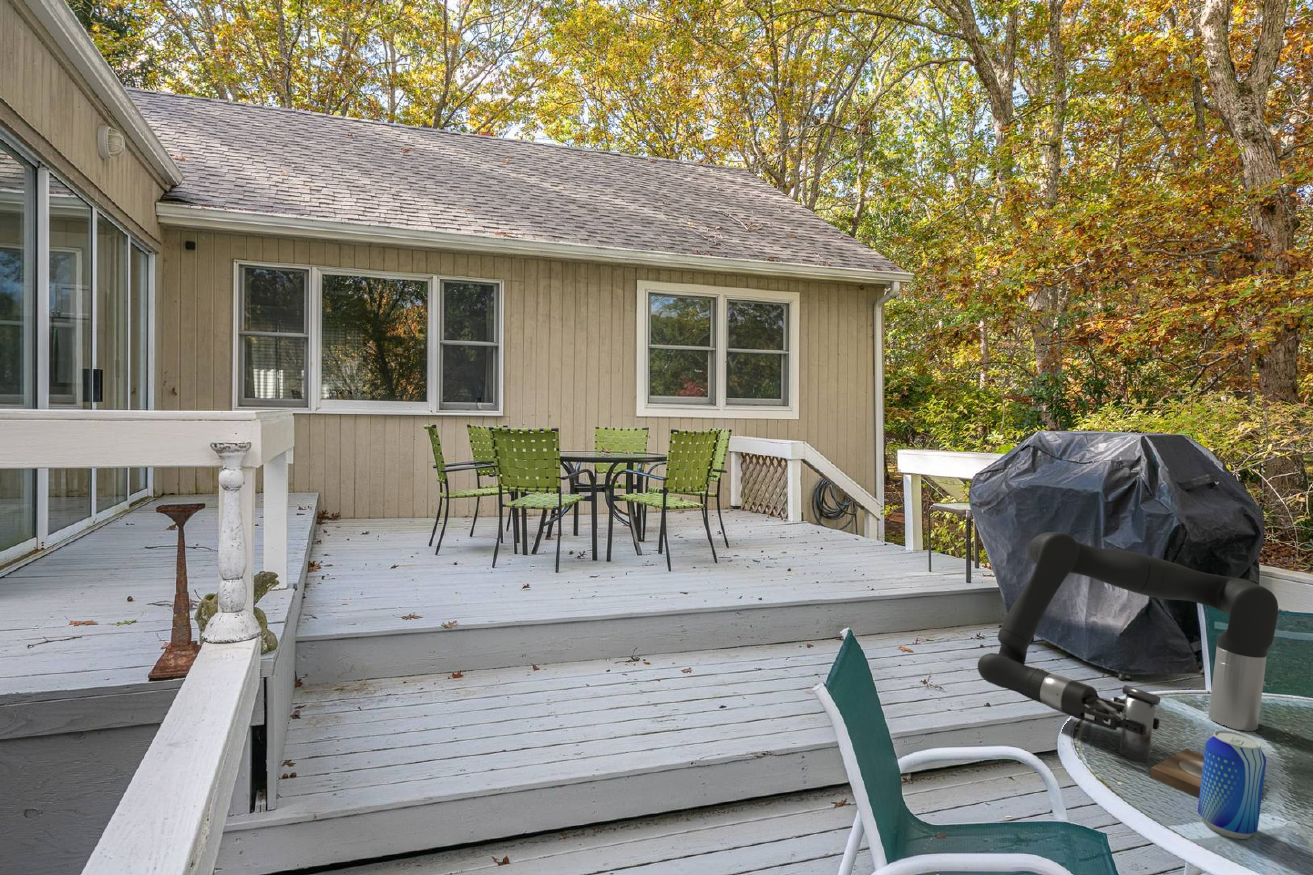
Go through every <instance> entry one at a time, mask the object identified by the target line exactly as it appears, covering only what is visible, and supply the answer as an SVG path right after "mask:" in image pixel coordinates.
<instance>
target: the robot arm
mask: <svg viewBox="0 0 1313 875" xmlns="http://www.w3.org/2000/svg"><path fill="white" fill-rule="evenodd" d="M1028 552H1029V555H1030V558H1031V560H1032V561H1033V562H1034V563H1035V567H1034V570H1033V572H1032V575H1031V578H1030V579H1029V581H1028V583H1027V585H1026V586H1025V588H1024V589H1023V590H1022V592H1021V593H1020V594H1019V596H1018V597H1017V598H1016V600H1015V601H1014V602H1013V604H1012V606H1011V607H1010V609H1009V610H1008V612H1007V614H1006V616H1005V617H1004V621H1003V622H1002V625H1001V627H1000V629H999V631H998V633H997V640H998V642H999V643H1000V647H999V651H998V653H994V652H989V653H986V654H983V655H982V656H981V657H980V658H979V660H978V662H977V671H978V674H979V676H980V677H981V678H982V679H983V680H984V681H985V682H987V683H989V684H992V685H994V686H997V687H1000V688H1003V689H1007V690H1010V691H1013V692H1016V693H1018V694H1020V695H1022V696H1024V697H1027V698H1028V699H1031V700H1033V701H1035V702H1037V703H1040V704H1043V705H1046V706H1048V707H1049V708H1051V709H1052V710H1055V711H1058V712H1060V713H1063V714H1065V715H1068V716H1070V717H1073V718H1075V719H1078V720H1081V721H1084V722H1087V723H1090V724H1093V725H1096V726H1099V727H1103V728H1106V729H1109V730H1112V731H1117V729H1119V730H1121V731H1122V730H1123V729H1124V728H1125V729H1126V730H1128V731H1131V732H1134V733H1136V734H1139V735H1141V736H1143V735H1145V734H1146V728H1147V727H1146V725H1145V724H1142V723H1139V722H1137V721H1134V720H1131V719H1129V718H1126V720H1125V717H1124V708H1125V699H1122V698H1121V697H1118V696H1114V697H1113V700H1112V699H1110V698H1107V697H1100V696H1099V694H1098V692H1097V689H1096V688H1094V687H1093V686H1091V685H1087V684H1086V683H1083V682H1080V681H1076V680H1074V679H1071V678H1070V677H1069V678H1068V677H1065V676H1063V675H1059V674H1055V673H1051V672H1048V671H1045V670H1042V669H1039V668H1036V667H1032V666H1029V665H1025V663H1026V658H1027V653H1028V650H1029V646H1030V645H1031V642H1032V641H1033V638H1034V636H1035V635H1036V632H1037V630H1038V628H1039V625H1040V623H1041V620H1042V619H1043V617H1044V614H1045V613H1046V611H1047V609H1048V607H1049V605H1050V603H1051V602H1052V600H1053V599H1054V596H1055V594H1056V593H1057V592H1058V590H1059V588H1060V587H1061V585H1062V584H1063V582H1064V581H1065V579H1066V578H1067V576H1068V575H1069V574H1076V575H1081V576H1085V577H1087V578H1092V579H1095V580H1098V581H1099V582H1101V583H1105V584H1107V585H1110V586H1114V587H1117V588H1118V589H1119V588H1120V589H1122V590H1126V591H1129V592H1131V593H1135V594H1140V595H1142V596H1147V597H1150V598H1155V599H1160V600H1172V601H1173V600H1174V601H1175V600H1176V601H1177V600H1178V601H1188V602H1193V603H1197V604H1201V605H1204V606H1206V607H1210V608H1212V609H1215V610H1218V611H1220V612H1223V613H1225V614H1227V615H1228V616H1229V619H1228V623H1227V624H1228V625H1227V628H1226V631H1223V632H1221V633H1219V634H1218V636H1217V642H1216V651H1215V659H1214V660H1215V661H1214V668H1213V675H1212V676H1213V677H1212V684H1211V692H1210V699H1209V707H1208V708H1209V709H1208V718H1209V717H1210V718H1211V719H1210V718H1209V719H1210V720H1211V721H1212V722H1214V721H1215V722H1214V723H1216V722H1217V723H1216V724H1218V723H1219V724H1218V725H1221V726H1223V725H1225V726H1224V727H1226V726H1227V728H1230V729H1234V730H1238V731H1243V730H1244V732H1255V731H1257V730H1258V728H1259V721H1260V713H1261V706H1262V705H1261V704H1262V697H1263V691H1264V690H1263V689H1264V680H1265V673H1266V664H1267V656H1268V651H1269V648H1270V647H1272V646H1271V645H1273V642H1274V638H1275V634H1276V633H1275V632H1276V626H1277V623H1278V622H1277V621H1278V615H1279V603H1278V600H1277V597H1276V596H1275V594H1274V593H1273V592H1272V591H1271V590H1269V589H1268V588H1266V587H1264V586H1262V585H1260V584H1257V583H1256V582H1254V581H1251V580H1249V579H1246V578H1245V579H1244V578H1240V577H1232V576H1225V575H1224V576H1223V575H1219V574H1213V573H1207V572H1202V571H1199V570H1195V569H1192V568H1190V567H1187V566H1183V565H1182V564H1178V563H1175V562H1172V561H1168V560H1165V559H1163V558H1159V557H1154V556H1151V555H1147V554H1142V553H1138V552H1132V551H1127V550H1118V549H1111V548H1101V547H1096V546H1090V545H1087V544H1084V543H1081V542H1077V541H1076V539H1074V538H1073V536H1071V535H1069V534H1067V533H1063V532H1058V531H1057V532H1056V531H1055V532H1050V531H1049V532H1043V533H1041V534H1038V535H1037V536H1035V537H1033V539H1032V540H1031V541H1030V543H1029V545H1028ZM1160 722H1161V721H1160V719H1159V718H1157V717H1155V716H1154V722H1153V730H1158V729H1159V728H1160ZM1256 729H1257V730H1256ZM1254 730H1255V731H1254Z"/></svg>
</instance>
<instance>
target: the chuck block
mask: <svg viewBox="0 0 1313 875" xmlns="http://www.w3.org/2000/svg"><path fill="white" fill-rule="evenodd" d="M1203 763H1204V754H1202V753H1199V752H1196V751H1194V750H1191V749H1188V748H1185V749H1183V750H1181V751H1179V752H1177V753H1175V754H1174V755H1173V756H1170V757H1169V758H1166V759H1165V760H1163V761H1160V762H1159V763H1157V764H1155V765H1154V766H1152V767H1150V776H1149V778H1151V779H1153V780H1156V781H1158V782H1161V783H1163V784H1165V785H1167V786H1170V787H1171V788H1172V787H1173V788H1174V789H1177V790H1180V791H1182V792H1184V793H1187V794H1189V795H1191V796H1194V797H1196V798H1198V799H1199V796H1200V787H1201V779H1202V771H1203Z"/></svg>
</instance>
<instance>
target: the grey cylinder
mask: <svg viewBox="0 0 1313 875" xmlns="http://www.w3.org/2000/svg"><path fill="white" fill-rule="evenodd" d="M1122 694H1123V695H1125V699H1124V700H1125V708H1124V717H1125V720H1126V718H1129V719H1131V720H1134V721H1137V722H1139V723H1142V724H1145V725H1146V727H1147V728H1146V734H1145V735H1143V736H1141V735H1139V734H1136V733H1134V732H1131V731H1128V730H1126V729H1125V728H1124V729H1123V730H1122V729H1121V737H1120V745H1119V754H1120V755H1121V756H1124V758H1127V759H1129V760H1132V761H1136V762H1140V763H1141V762H1143V763H1144V762H1149V760H1150V755H1151V746H1152V738H1153V730H1154V729H1153V722H1154V717H1155V712H1156V711H1155V710H1156V706H1158V705H1160V704H1161V703H1160V702H1161V696H1159V695H1156V694H1153V693H1150V692H1147V691H1144V690H1142V689H1138V688H1135V687H1132V686H1130V685H1128V684H1127V685H1126V684H1124V685H1123V687H1122Z"/></svg>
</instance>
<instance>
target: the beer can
mask: <svg viewBox="0 0 1313 875" xmlns="http://www.w3.org/2000/svg"><path fill="white" fill-rule="evenodd" d="M1203 755H1204V763H1203V771H1202V779H1201V787H1200V796H1199V798H1198V805H1197V813H1198V815H1199V817H1200V818H1201V821H1202V822H1203V824H1204V825H1205V826H1207V828H1209V829H1210V828H1211V829H1210V830H1211V831H1212V830H1213V831H1214V832H1216V833H1217V834H1221V835H1222V836H1225V837H1228V838H1234V839H1238V840H1239V839H1240V840H1245V839H1250V838H1251V837H1252V836H1253V835H1254V834H1256V833H1257V832H1258V830H1259V824H1260V823H1259V822H1260V821H1259V820H1260V814H1261V807H1262V806H1261V805H1262V796H1263V791H1264V782H1265V774H1266V767H1267V757H1266V756H1265V754H1264V751H1263V750H1262V744H1261V743H1260V741H1258V740H1257V739H1255V738H1254V737H1251V736H1249V735H1246V734H1244V733H1240V732H1238V731H1232V730H1226V729H1218V730H1215V731H1214V732H1213V735H1212V736H1211V737H1210V738H1209V739H1208V740H1207V741H1206V742H1205V746H1204V754H1203Z"/></svg>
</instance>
